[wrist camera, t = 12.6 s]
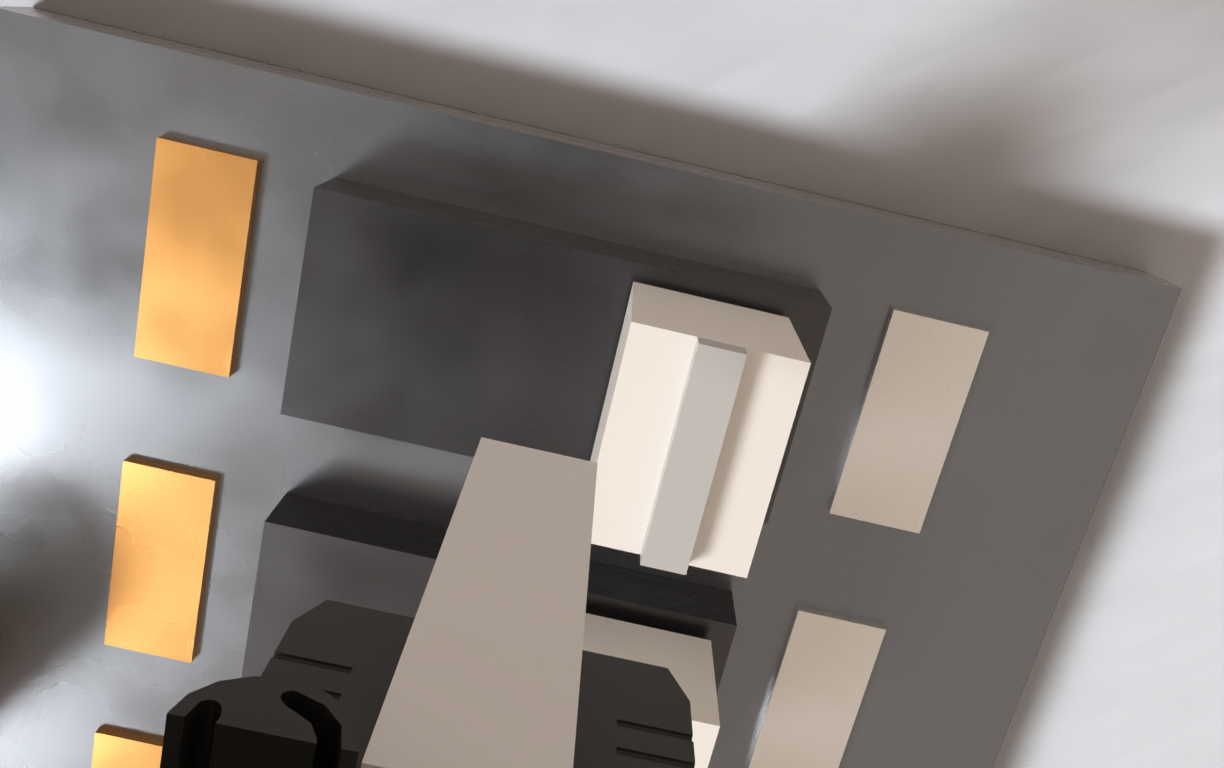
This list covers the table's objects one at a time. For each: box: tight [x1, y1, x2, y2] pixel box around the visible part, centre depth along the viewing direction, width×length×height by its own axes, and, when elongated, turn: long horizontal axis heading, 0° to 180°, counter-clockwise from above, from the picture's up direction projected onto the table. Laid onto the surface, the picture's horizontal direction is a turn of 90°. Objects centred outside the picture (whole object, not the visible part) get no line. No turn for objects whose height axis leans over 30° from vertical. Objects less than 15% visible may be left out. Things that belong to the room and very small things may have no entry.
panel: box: [0, 6, 1181, 768], centre depth 25 cm, size 24×22×3 cm
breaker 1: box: [590, 281, 811, 578], centre depth 20 cm, size 3×4×3 cm
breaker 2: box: [583, 613, 720, 768], centre depth 22 cm, size 3×4×3 cm
